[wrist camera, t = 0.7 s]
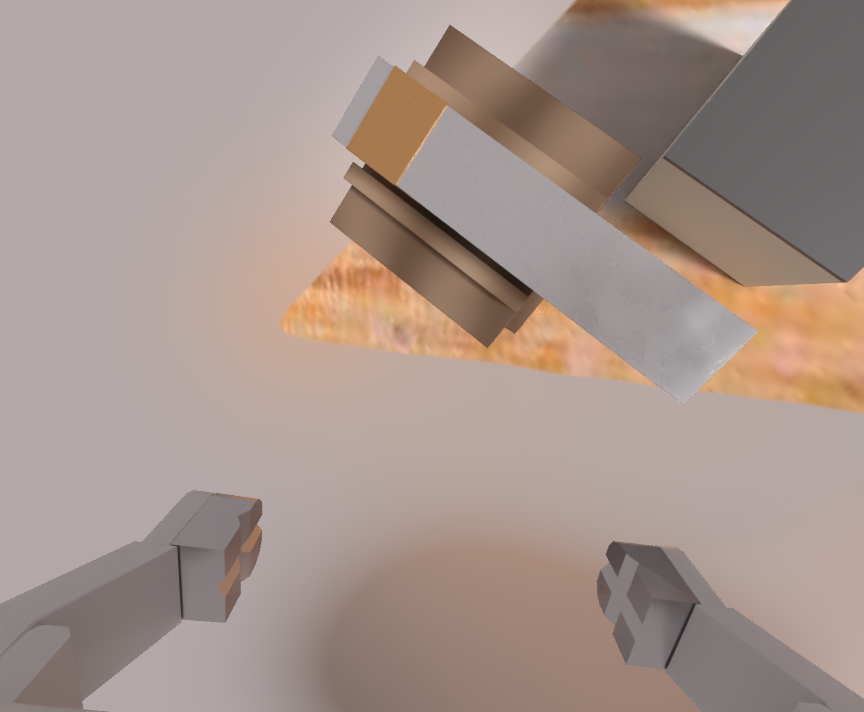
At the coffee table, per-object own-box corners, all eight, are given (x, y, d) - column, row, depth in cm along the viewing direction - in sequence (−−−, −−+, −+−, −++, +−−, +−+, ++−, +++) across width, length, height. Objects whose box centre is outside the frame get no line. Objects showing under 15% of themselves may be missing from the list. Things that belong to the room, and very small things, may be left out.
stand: (597, 232, 44) (681, 142, 18) (515, 332, 48) (487, 376, 22) (496, 158, 46) (441, -23, 20) (424, 261, 50) (297, 222, 24)
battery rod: (717, 323, 20) (760, 330, 16) (656, 385, 21) (682, 406, 17) (395, 87, 22) (364, 43, 18) (355, 154, 23) (318, 126, 19)
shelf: (882, 145, 37) (1086, 56, 24) (744, 286, 42) (847, 282, 28) (743, 55, 39) (855, -77, 25) (624, 200, 43) (664, 155, 29)
